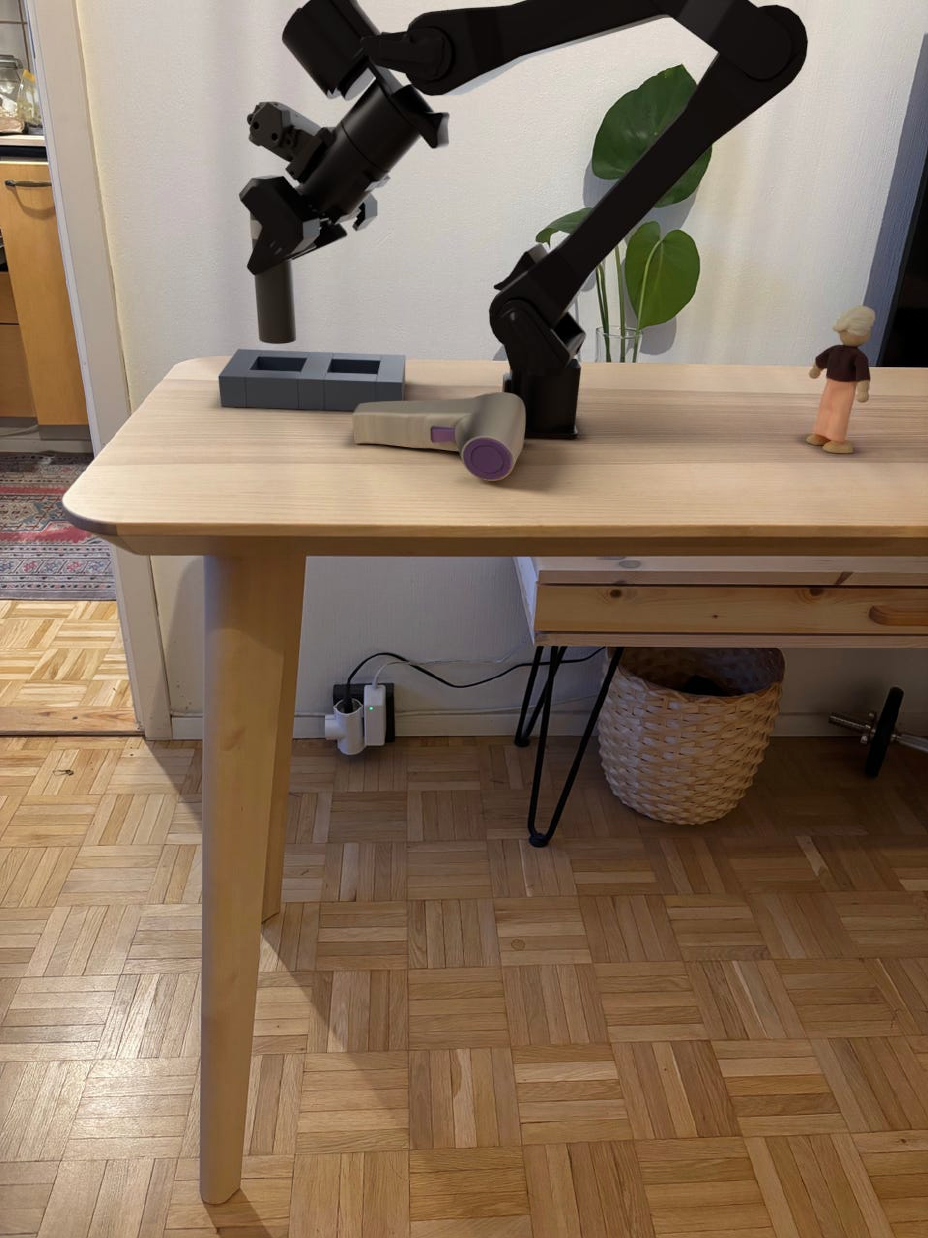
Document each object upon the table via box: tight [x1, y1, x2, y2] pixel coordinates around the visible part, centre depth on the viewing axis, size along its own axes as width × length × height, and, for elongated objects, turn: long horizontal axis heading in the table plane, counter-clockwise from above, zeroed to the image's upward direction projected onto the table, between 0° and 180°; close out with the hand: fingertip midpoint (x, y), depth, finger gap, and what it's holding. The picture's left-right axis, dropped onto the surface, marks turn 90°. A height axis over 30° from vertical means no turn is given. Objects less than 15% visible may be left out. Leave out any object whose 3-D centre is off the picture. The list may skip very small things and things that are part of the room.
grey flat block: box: [218, 348, 406, 412], centre depth 93 cm, size 18×10×3 cm, turn 91°
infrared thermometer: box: [351, 391, 526, 482], centre depth 79 cm, size 5×12×15 cm
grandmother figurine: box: [806, 305, 876, 454], centre depth 84 cm, size 8×4×13 cm, turn 31°
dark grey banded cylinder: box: [249, 211, 297, 345], centre depth 88 cm, size 4×4×12 cm
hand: (260, 267), depth 88 cm, fingers closed on dark grey banded cylinder, 3 cm apart
